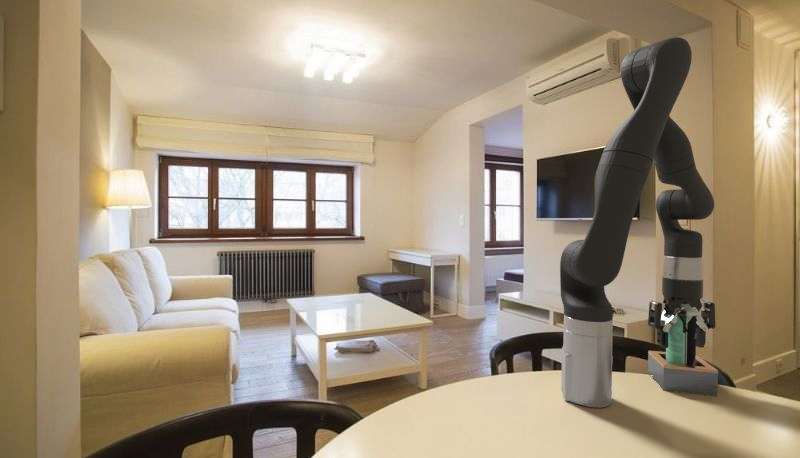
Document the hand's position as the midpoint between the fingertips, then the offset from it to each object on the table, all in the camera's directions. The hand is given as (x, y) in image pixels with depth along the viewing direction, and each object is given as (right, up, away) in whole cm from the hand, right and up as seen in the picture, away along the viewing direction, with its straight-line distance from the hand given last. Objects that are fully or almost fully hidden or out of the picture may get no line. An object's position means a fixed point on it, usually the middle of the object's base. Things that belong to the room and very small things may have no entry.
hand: (680, 346), depth 87 cm
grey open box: (0, -9, 0) cm, 9 cm away
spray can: (0, -9, 0) cm, 9 cm away
